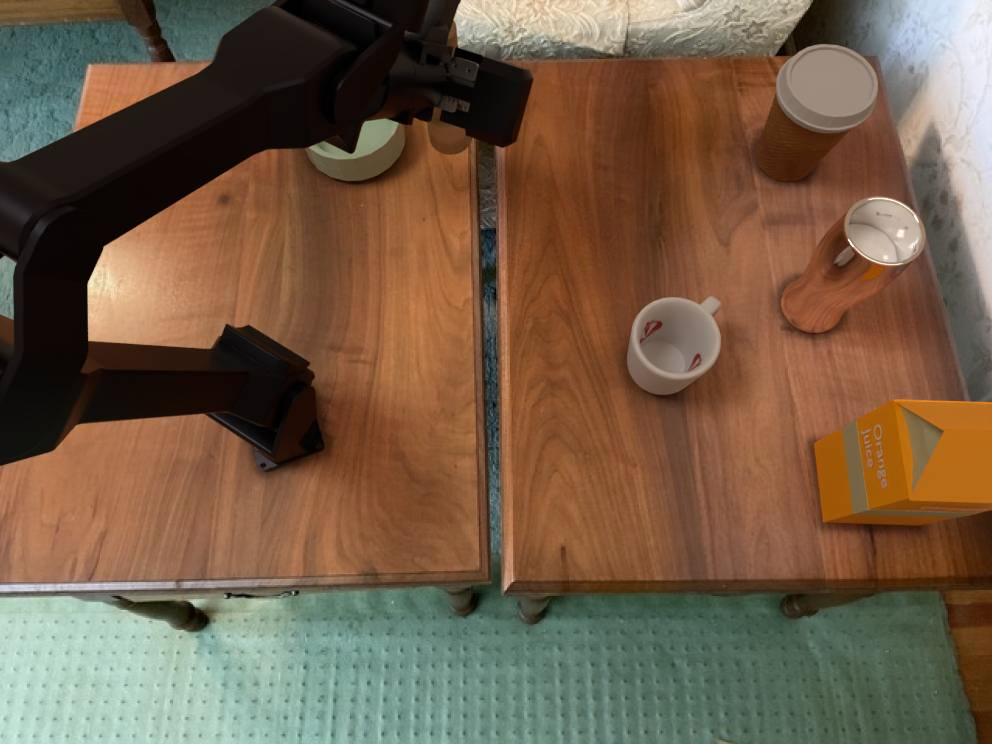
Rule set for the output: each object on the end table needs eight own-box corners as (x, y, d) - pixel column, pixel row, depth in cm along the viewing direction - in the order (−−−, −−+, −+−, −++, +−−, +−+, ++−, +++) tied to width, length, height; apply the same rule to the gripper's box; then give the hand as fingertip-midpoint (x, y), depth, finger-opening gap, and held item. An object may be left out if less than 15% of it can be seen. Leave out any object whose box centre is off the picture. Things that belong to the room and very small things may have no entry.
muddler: (478, 147, 71) (471, 39, 58) (437, 160, 70) (421, 54, 57) (464, 114, 72) (455, 1, 59) (424, 126, 72) (405, 15, 59)
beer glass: (762, 308, 71) (825, 232, 57) (801, 263, 73) (872, 179, 59) (819, 351, 70) (898, 284, 56) (858, 304, 71) (945, 227, 57)
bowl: (418, 166, 78) (413, 140, 73) (322, 196, 77) (311, 172, 72) (389, 90, 81) (382, 61, 77) (296, 118, 80) (284, 90, 76)
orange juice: (813, 441, 67) (933, 374, 48) (906, 444, 66) (1064, 378, 48) (822, 524, 64) (954, 488, 45) (919, 527, 64) (1092, 492, 45)
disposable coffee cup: (730, 178, 76) (769, 102, 65) (754, 112, 79) (795, 28, 68) (816, 206, 75) (870, 134, 64) (837, 138, 78) (893, 57, 67)
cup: (672, 297, 72) (692, 260, 64) (733, 348, 70) (760, 316, 62) (601, 366, 70) (613, 336, 62) (662, 421, 68) (681, 397, 60)
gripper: (528, -7, 46) (571, 11, 60) (282, -82, 49) (377, -48, 63) (486, 158, 51) (534, 140, 65) (264, 83, 54) (356, 80, 68)
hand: (451, 76), depth 65 cm, fingers closed on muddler, 3 cm apart
